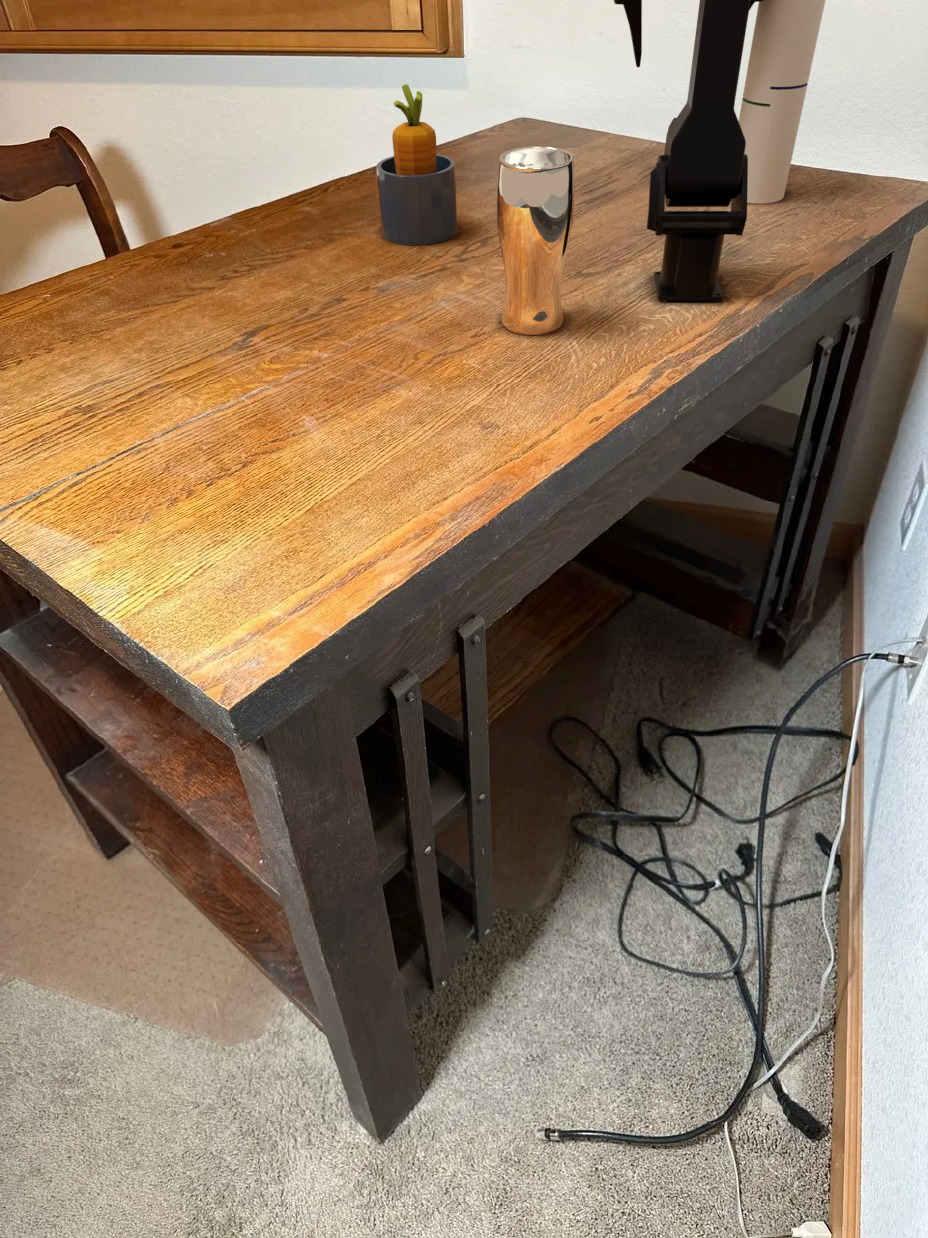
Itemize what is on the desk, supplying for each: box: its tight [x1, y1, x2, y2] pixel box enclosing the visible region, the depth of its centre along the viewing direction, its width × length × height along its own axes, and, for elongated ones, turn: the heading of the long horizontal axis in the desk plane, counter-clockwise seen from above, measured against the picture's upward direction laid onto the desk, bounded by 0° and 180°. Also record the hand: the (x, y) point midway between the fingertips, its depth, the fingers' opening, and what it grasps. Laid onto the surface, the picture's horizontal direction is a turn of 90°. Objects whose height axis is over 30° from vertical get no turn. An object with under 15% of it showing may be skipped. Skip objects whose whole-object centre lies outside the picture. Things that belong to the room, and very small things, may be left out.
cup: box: [376, 153, 458, 246], centre depth 103 cm, size 9×9×8 cm
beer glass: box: [496, 145, 575, 336], centre depth 81 cm, size 7×7×15 cm
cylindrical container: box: [738, 0, 826, 205], centre depth 103 cm, size 7×7×25 cm
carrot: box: [391, 84, 437, 175], centre depth 100 cm, size 5×5×15 cm
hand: (677, 65), depth 101 cm, fingers open, 9 cm apart
